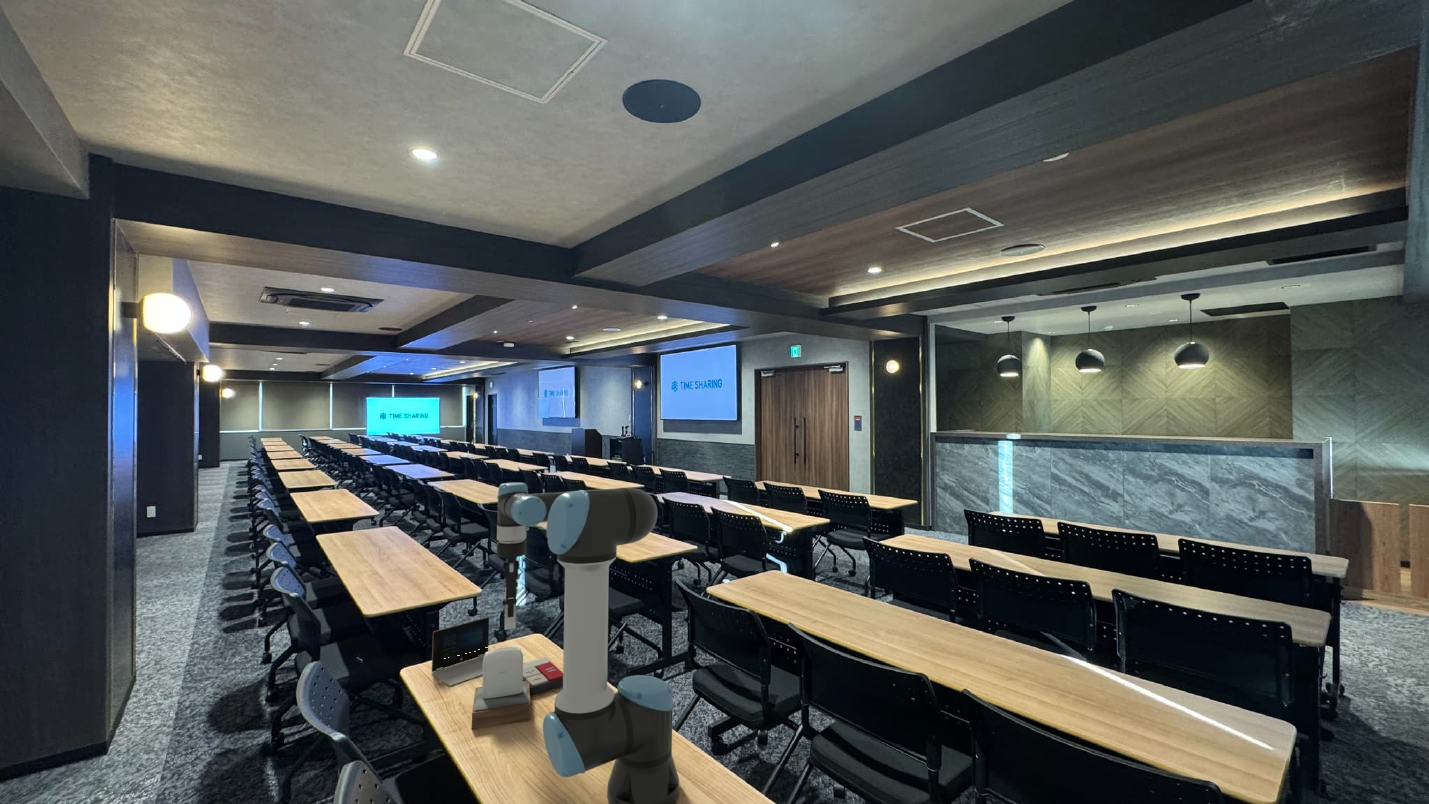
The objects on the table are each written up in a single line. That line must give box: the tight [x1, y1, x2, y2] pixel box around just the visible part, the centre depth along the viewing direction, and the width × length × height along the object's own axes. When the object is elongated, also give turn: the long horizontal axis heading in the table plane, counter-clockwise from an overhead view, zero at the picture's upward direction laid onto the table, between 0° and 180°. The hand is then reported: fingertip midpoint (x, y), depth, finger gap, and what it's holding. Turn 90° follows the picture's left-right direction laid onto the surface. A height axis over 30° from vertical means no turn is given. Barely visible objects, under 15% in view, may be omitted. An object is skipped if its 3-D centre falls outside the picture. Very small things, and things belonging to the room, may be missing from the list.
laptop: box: [431, 616, 490, 687], centre depth 174 cm, size 18×12×13 cm
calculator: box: [523, 657, 563, 698], centre depth 167 cm, size 11×4×15 cm
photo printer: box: [481, 646, 524, 699], centre depth 151 cm, size 10×4×12 cm, turn 110°
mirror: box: [471, 681, 531, 730], centre depth 151 cm, size 14×14×4 cm
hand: (509, 620), depth 151 cm, fingers open, 13 cm apart
